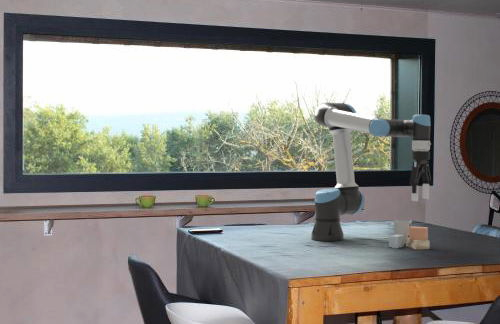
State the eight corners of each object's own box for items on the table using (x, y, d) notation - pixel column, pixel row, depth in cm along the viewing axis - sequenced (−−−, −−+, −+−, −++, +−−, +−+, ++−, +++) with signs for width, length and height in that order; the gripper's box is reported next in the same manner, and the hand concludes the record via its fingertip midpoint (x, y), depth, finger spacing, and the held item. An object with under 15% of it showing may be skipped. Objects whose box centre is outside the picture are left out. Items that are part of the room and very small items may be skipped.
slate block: (397, 248, 288) (397, 236, 287) (388, 247, 290) (388, 236, 290) (403, 246, 293) (403, 235, 293) (395, 245, 296) (395, 234, 295)
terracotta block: (409, 238, 290) (409, 227, 290) (411, 237, 293) (412, 226, 293) (425, 240, 286) (425, 228, 286) (427, 238, 290) (427, 227, 290)
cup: (411, 244, 298) (411, 222, 298) (393, 244, 300) (393, 221, 299) (411, 242, 306) (411, 220, 306) (392, 241, 307) (393, 219, 307)
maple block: (406, 246, 294) (406, 237, 294) (418, 246, 295) (418, 237, 295) (416, 250, 284) (416, 240, 284) (429, 249, 286) (429, 240, 285)
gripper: (419, 151, 277) (418, 202, 278) (439, 150, 298) (438, 198, 299) (401, 150, 281) (401, 201, 282) (422, 150, 302) (421, 197, 303)
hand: (420, 199), depth 290 cm, fingers open, 13 cm apart
